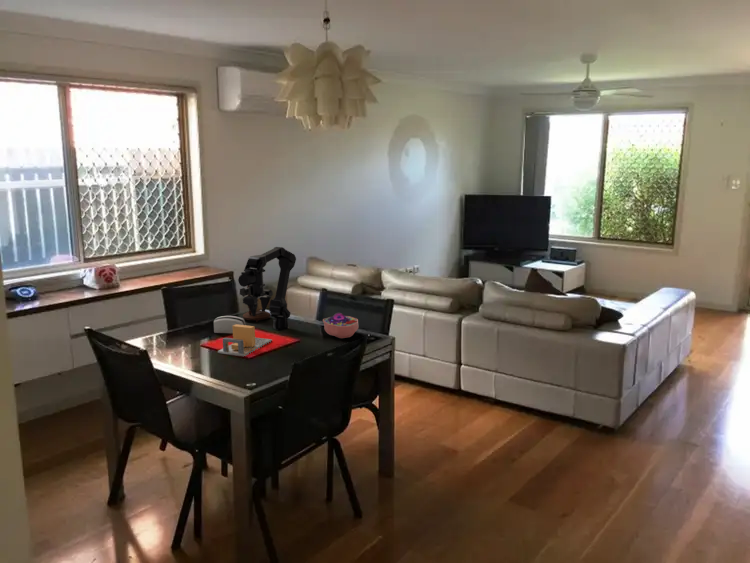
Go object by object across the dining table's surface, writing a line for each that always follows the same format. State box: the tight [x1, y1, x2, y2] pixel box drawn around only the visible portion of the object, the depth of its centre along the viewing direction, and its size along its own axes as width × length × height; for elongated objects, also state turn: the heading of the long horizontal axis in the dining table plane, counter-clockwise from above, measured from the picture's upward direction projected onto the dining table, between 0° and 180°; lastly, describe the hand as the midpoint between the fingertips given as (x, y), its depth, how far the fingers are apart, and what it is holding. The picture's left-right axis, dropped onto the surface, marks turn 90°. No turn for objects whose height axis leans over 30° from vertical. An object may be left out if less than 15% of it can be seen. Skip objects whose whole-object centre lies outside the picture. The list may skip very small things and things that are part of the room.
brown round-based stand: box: [242, 285, 271, 323], centre depth 344 cm, size 15×15×20 cm
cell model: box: [322, 312, 359, 339], centre depth 312 cm, size 17×20×11 cm
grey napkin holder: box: [213, 315, 247, 334], centre depth 321 cm, size 17×5×10 cm, turn 82°
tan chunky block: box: [230, 324, 256, 350], centre depth 293 cm, size 9×10×9 cm
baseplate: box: [217, 336, 273, 357], centre depth 298 cm, size 24×14×7 cm, turn 159°
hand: (258, 313), depth 311 cm, fingers open, 9 cm apart
